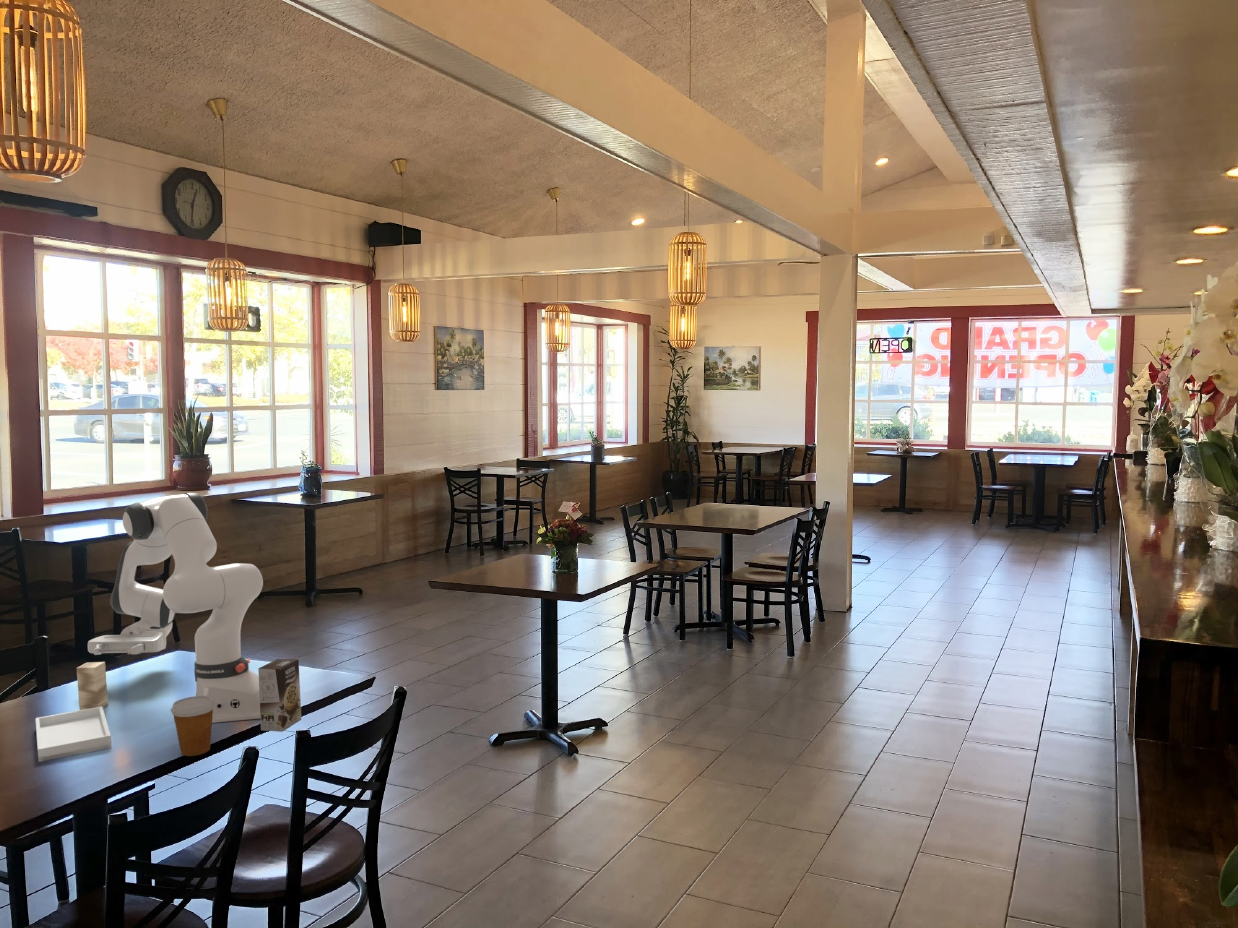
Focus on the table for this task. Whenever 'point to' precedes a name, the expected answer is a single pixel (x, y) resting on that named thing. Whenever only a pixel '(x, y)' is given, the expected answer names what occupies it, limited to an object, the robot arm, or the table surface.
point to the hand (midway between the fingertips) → (113, 651)
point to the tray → (72, 733)
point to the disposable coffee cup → (193, 724)
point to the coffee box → (279, 694)
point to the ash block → (92, 685)
